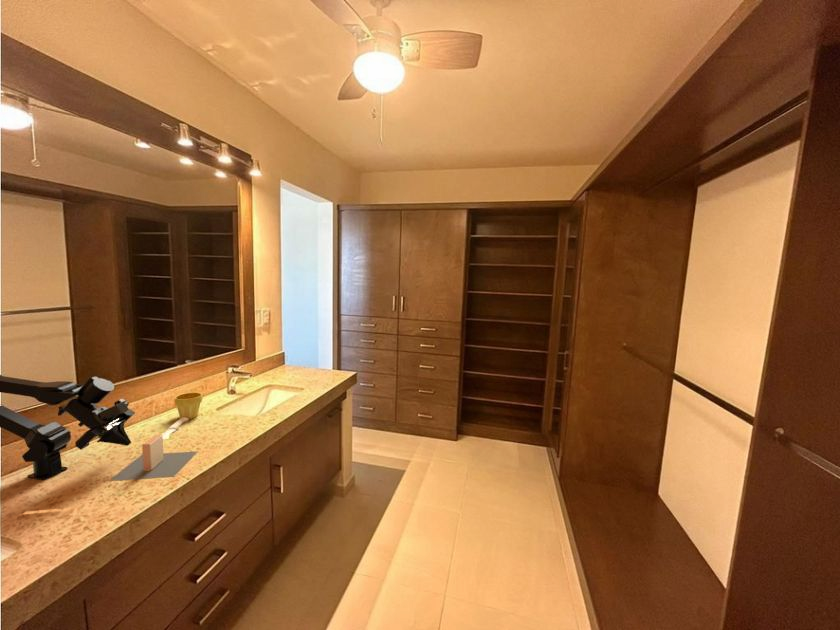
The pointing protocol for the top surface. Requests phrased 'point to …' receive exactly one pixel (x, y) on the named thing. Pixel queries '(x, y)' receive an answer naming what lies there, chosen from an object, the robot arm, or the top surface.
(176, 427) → the knife
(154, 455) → the tile
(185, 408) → the plant pot
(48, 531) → the top surface
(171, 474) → the mat
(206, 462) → the top surface
